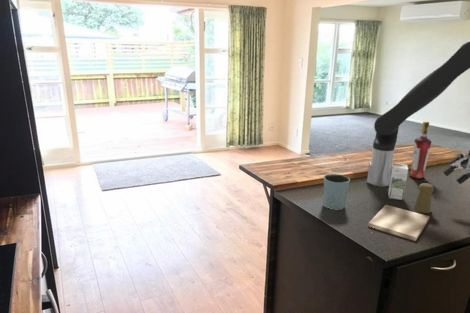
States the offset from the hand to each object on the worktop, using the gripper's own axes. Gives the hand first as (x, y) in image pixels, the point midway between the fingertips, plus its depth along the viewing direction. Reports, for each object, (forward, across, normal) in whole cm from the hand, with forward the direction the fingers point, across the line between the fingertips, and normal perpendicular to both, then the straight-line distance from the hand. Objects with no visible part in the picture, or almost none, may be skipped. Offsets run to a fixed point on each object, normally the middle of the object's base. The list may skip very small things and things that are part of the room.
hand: (451, 178), depth 141 cm
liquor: (+4, -37, +15) cm, 40 cm away
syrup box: (+20, -12, 0) cm, 23 cm away
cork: (+16, 0, +3) cm, 17 cm away
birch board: (+26, +11, -7) cm, 30 cm away
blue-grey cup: (+41, -4, -21) cm, 46 cm away
